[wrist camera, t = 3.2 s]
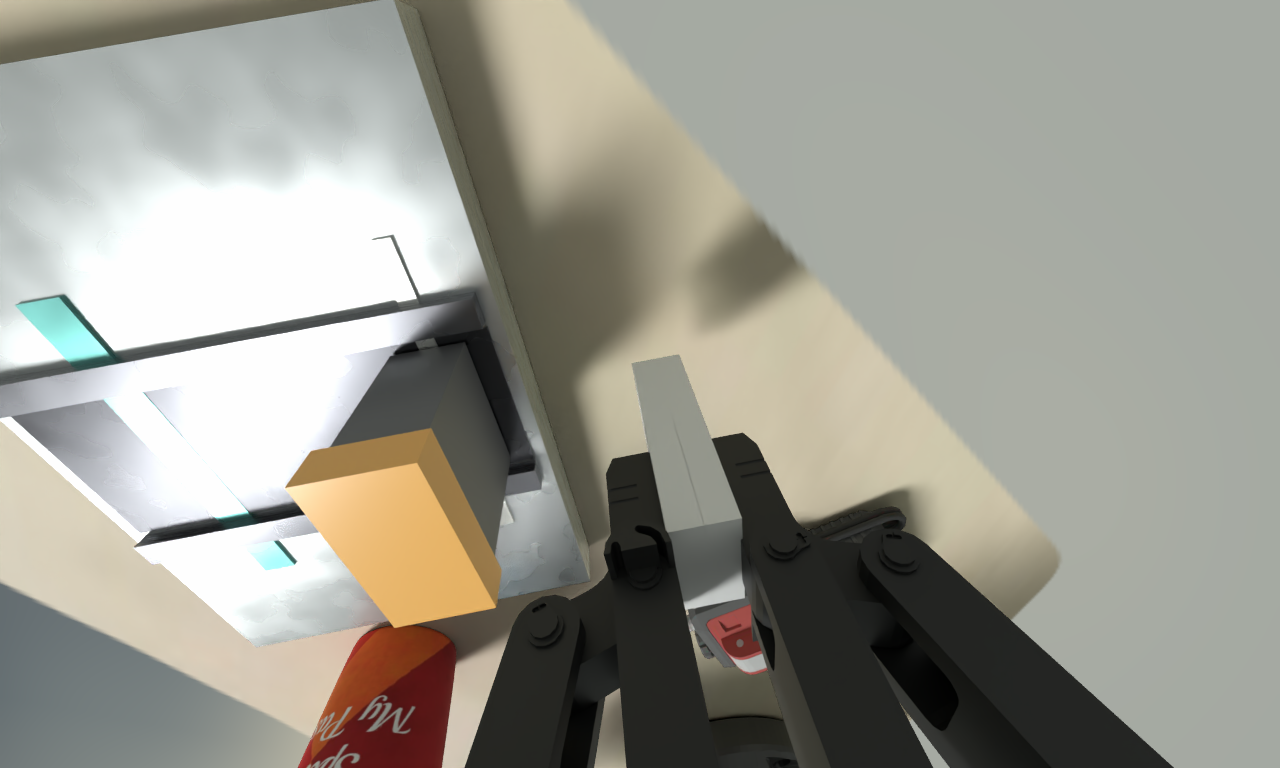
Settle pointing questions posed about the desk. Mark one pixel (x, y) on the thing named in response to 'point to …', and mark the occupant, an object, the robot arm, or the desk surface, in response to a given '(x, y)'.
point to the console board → (252, 295)
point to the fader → (414, 489)
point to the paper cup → (388, 703)
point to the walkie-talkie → (730, 622)
